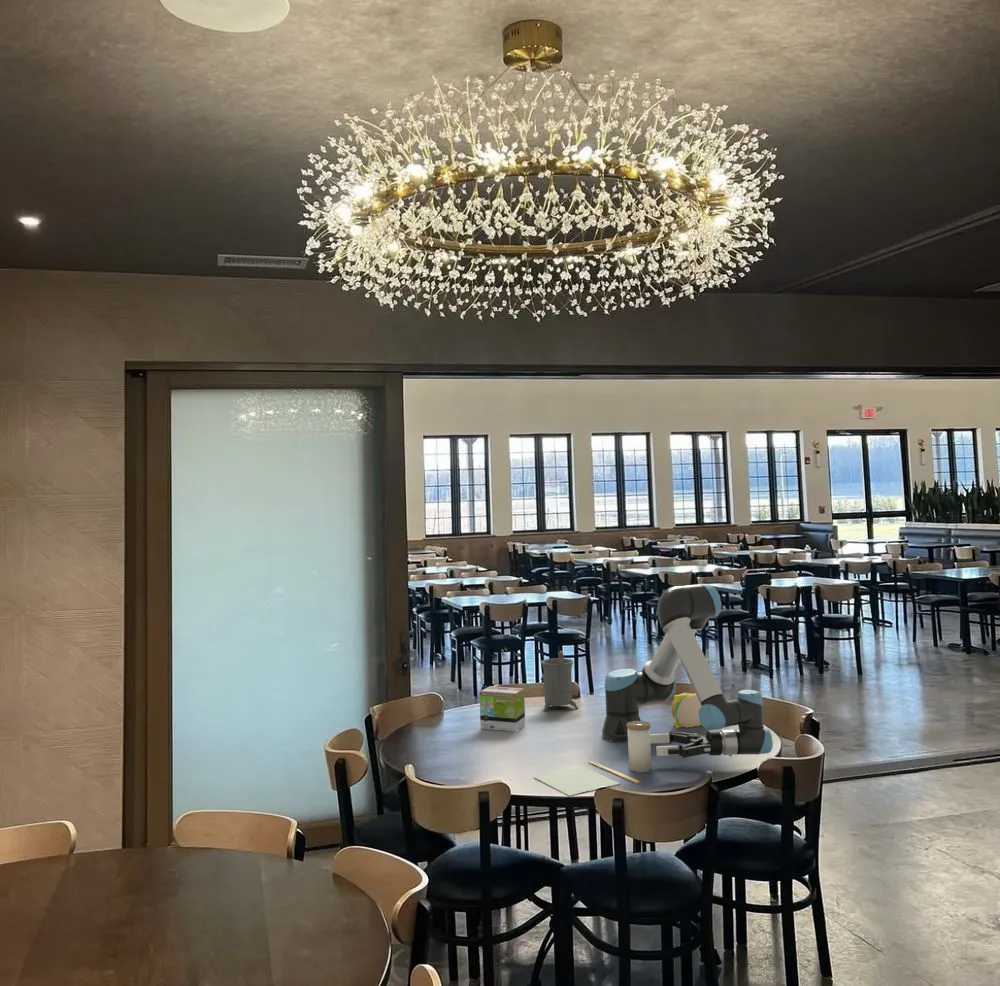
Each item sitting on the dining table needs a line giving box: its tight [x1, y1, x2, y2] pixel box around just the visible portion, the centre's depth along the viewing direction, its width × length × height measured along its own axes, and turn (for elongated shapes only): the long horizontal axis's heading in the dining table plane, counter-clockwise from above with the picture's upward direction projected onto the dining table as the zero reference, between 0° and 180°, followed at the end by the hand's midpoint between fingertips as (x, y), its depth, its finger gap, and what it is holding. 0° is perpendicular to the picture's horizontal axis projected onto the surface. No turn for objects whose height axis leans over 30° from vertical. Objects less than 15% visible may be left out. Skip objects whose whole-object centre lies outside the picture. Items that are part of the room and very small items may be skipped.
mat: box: [533, 765, 621, 797], centre depth 241 cm, size 20×18×1 cm
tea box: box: [479, 685, 526, 732], centre depth 306 cm, size 15×10×15 cm, turn 68°
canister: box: [627, 720, 653, 773], centre depth 250 cm, size 7×7×14 cm
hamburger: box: [670, 692, 702, 729], centre depth 299 cm, size 12×8×12 cm
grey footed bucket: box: [540, 650, 579, 712], centre depth 334 cm, size 19×15×25 cm
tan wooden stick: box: [588, 760, 641, 784], centre depth 248 cm, size 24×2×1 cm, turn 29°
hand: (652, 744), depth 250 cm, fingers open, 13 cm apart
